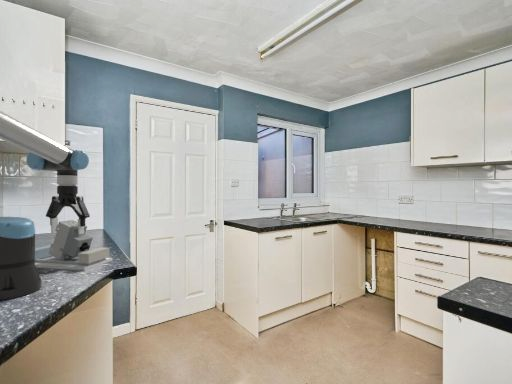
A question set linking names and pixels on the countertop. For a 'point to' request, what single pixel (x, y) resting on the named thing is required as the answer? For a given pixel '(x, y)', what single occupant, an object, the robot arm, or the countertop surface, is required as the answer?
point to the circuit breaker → (69, 241)
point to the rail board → (78, 263)
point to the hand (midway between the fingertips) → (67, 233)
